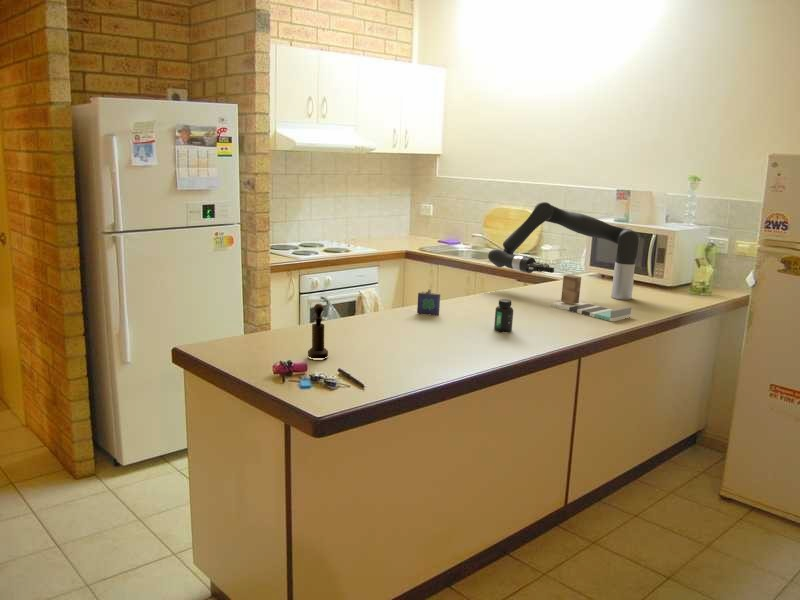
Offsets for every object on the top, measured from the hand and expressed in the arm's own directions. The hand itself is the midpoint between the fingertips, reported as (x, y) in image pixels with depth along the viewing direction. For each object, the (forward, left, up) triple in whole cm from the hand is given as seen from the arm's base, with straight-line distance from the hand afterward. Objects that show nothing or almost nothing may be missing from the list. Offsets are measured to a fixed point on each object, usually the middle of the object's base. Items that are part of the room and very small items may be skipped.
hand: (553, 270), depth 316 cm
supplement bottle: (+58, +22, -15) cm, 64 cm away
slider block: (0, +11, -13) cm, 17 cm away
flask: (+66, -12, -15) cm, 69 cm away
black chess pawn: (+137, +12, -15) cm, 138 cm away
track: (0, +21, -15) cm, 25 cm away
